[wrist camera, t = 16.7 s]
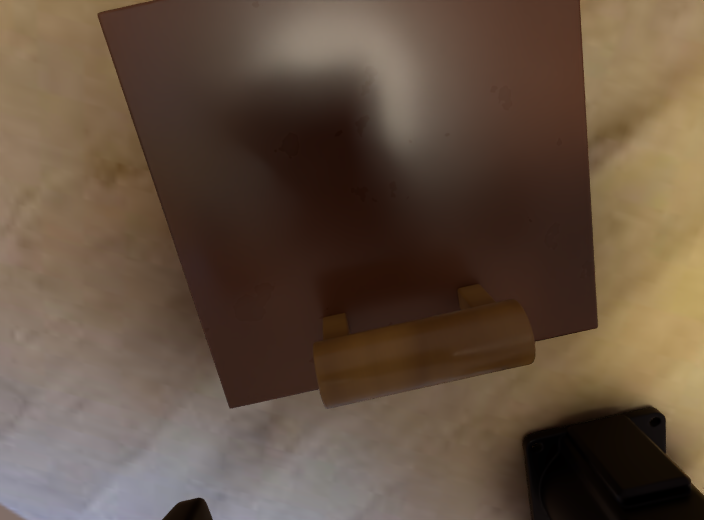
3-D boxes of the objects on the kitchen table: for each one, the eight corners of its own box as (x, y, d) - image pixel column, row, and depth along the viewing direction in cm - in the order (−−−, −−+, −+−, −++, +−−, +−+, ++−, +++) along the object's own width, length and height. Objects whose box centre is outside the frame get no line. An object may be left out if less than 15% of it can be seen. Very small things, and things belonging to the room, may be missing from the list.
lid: (588, 320, 15) (679, 389, 11) (232, 398, 15) (203, 495, 11) (563, -84, 12) (679, -177, 8) (105, 17, 12) (4, -29, 8)
